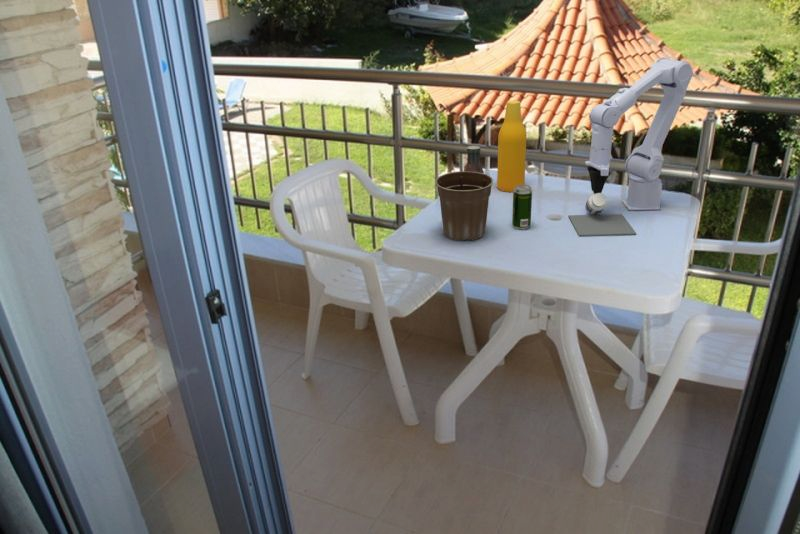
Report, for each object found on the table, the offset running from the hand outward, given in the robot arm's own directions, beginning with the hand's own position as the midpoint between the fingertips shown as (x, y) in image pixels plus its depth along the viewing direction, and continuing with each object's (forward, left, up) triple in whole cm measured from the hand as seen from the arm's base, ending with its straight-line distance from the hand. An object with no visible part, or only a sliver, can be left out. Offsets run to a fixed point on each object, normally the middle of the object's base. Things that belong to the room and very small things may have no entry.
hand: (596, 192), depth 204 cm
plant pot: (+40, +10, -8) cm, 42 cm away
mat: (0, +7, -8) cm, 11 cm away
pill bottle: (0, -3, -6) cm, 6 cm away
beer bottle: (+22, -28, -8) cm, 36 cm away
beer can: (+23, +6, -8) cm, 25 cm away
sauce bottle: (+36, -9, -8) cm, 38 cm away
